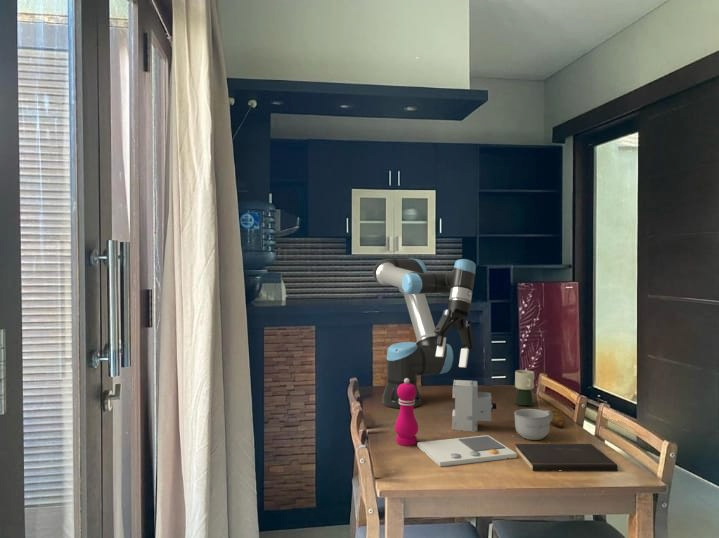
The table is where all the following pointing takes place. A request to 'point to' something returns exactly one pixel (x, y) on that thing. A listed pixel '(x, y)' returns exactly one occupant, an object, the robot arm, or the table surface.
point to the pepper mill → (406, 415)
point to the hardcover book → (565, 457)
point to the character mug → (524, 387)
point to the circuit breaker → (470, 405)
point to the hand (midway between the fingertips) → (451, 362)
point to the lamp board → (465, 450)
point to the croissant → (557, 418)
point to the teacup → (532, 423)
